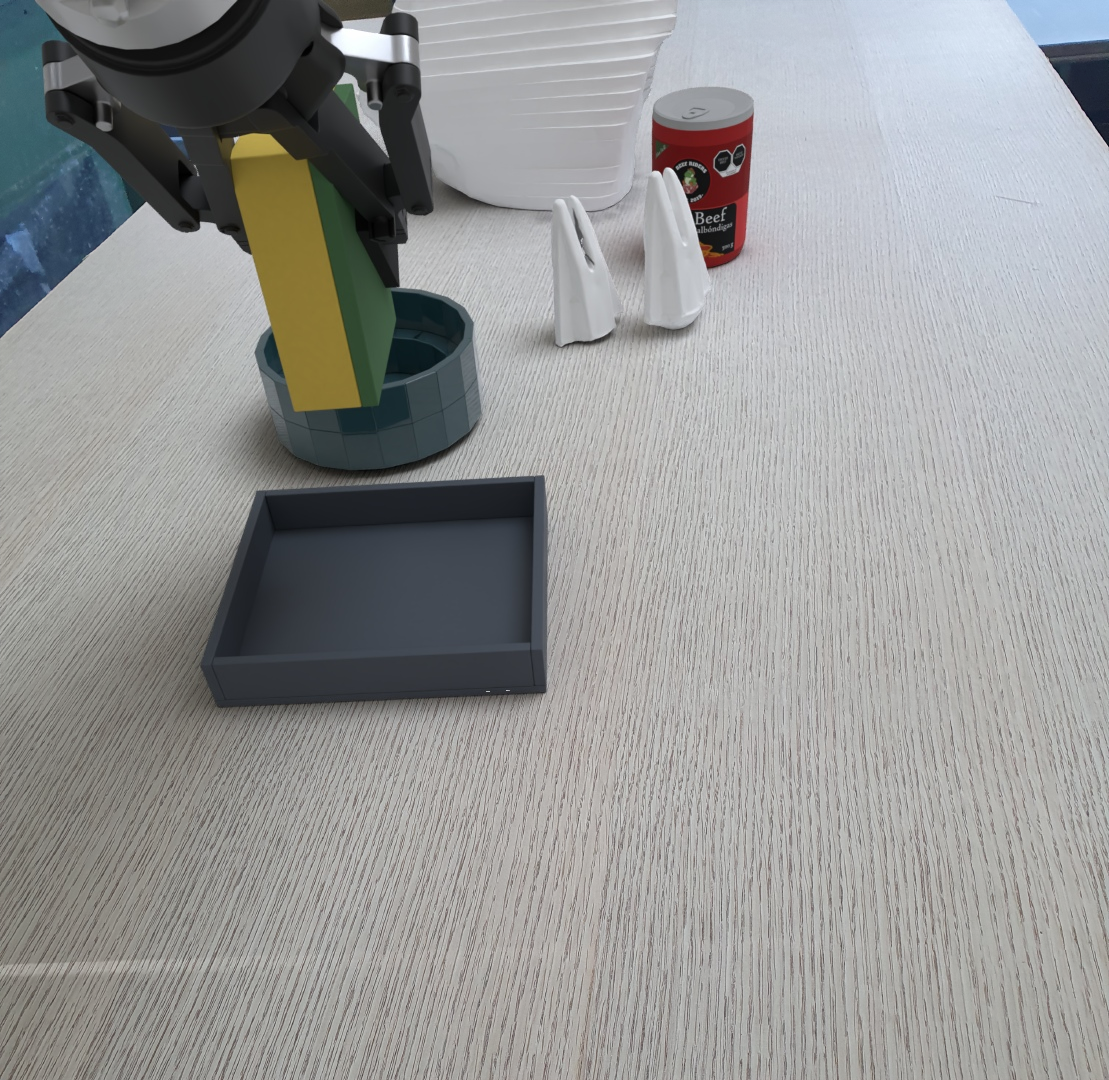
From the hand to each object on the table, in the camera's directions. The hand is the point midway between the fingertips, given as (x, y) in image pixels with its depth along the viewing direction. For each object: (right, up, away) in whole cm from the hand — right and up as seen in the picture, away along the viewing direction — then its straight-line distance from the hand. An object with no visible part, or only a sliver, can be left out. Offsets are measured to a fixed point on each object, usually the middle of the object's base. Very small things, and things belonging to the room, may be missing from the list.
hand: (344, 262), depth 54 cm
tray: (+2, -16, +7) cm, 18 cm away
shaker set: (+16, +7, +28) cm, 33 cm away
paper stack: (+8, +30, +50) cm, 59 cm away
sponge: (0, -5, 0) cm, 5 cm away
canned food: (+22, +17, +36) cm, 46 cm away
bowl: (-1, -2, +21) cm, 21 cm away
